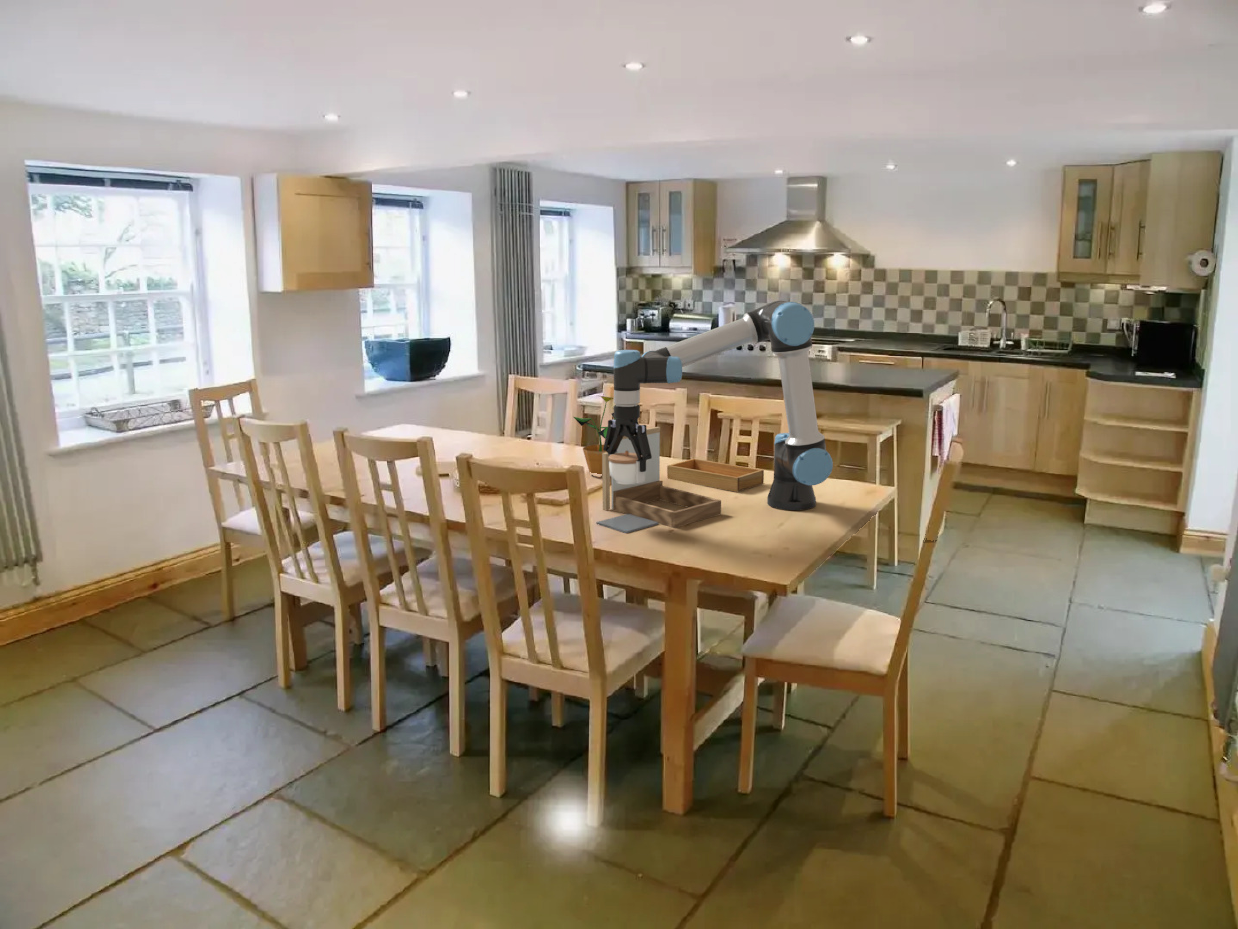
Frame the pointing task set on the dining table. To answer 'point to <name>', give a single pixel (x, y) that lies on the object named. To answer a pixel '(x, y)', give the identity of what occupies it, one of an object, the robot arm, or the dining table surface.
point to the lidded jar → (623, 467)
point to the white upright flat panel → (651, 464)
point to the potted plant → (595, 451)
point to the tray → (715, 474)
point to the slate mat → (627, 523)
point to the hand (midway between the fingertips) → (626, 479)
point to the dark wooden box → (639, 495)
